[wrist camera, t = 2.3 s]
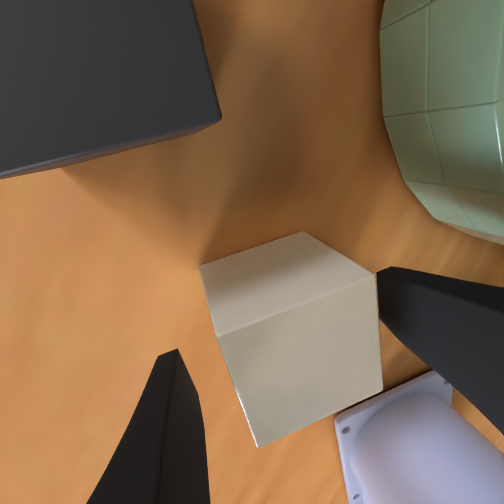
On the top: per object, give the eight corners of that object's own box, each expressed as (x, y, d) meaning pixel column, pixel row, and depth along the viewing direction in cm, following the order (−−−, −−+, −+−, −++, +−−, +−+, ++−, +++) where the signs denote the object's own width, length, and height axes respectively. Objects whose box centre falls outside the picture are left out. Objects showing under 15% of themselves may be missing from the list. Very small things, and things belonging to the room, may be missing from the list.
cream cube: (318, 316, 13) (384, 391, 9) (228, 352, 13) (257, 450, 9) (303, 229, 12) (377, 274, 8) (197, 265, 11) (215, 336, 7)
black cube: (199, 131, 9) (224, 120, 5) (55, 169, 9) (-46, 188, 4) (147, -48, 7) (122, -282, 3) (-41, -21, 7) (-354, -275, 3)
